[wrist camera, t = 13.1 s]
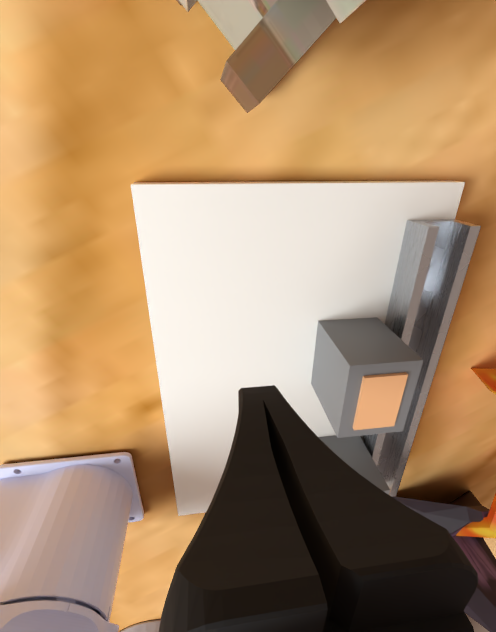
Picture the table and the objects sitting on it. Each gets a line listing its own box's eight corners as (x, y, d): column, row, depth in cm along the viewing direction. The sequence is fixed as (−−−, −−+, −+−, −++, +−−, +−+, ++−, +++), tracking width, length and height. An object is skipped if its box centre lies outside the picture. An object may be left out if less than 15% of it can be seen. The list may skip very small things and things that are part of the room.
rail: (351, 479, 29) (361, 500, 27) (407, 220, 19) (428, 227, 17) (383, 475, 29) (395, 496, 27) (454, 219, 19) (480, 225, 17)
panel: (179, 502, 29) (178, 515, 28) (134, 182, 17) (130, 184, 16) (373, 478, 31) (379, 489, 30) (450, 180, 19) (465, 182, 18)
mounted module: (304, 480, 28) (324, 546, 23) (309, 437, 26) (333, 500, 21) (348, 475, 28) (378, 538, 24) (357, 432, 26) (391, 492, 22)
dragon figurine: (698, 425, 20) (572, 723, 25) (509, 355, 31) (451, 568, 37) (552, 426, 18) (450, 747, 23) (410, 351, 29) (364, 577, 35)
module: (310, 383, 23) (338, 440, 19) (318, 320, 21) (351, 368, 16) (364, 379, 24) (404, 433, 19) (377, 317, 22) (425, 362, 17)
